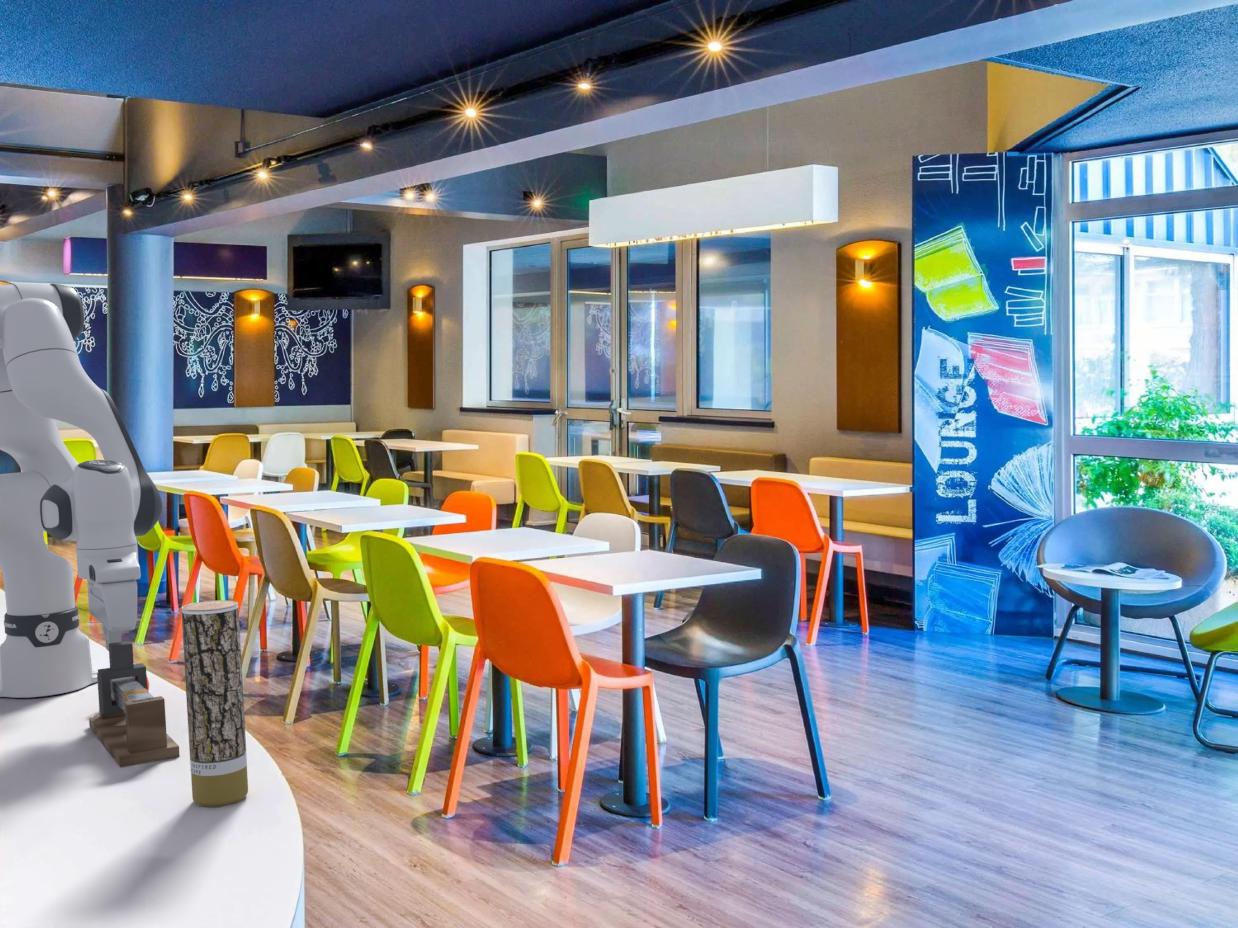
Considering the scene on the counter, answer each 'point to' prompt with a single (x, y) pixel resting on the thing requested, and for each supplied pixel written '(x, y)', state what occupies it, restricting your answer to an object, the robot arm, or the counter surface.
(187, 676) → the paper tube
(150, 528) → the robot arm
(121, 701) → the grey metal bar
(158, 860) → the counter surface
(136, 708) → the base
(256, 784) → the counter surface
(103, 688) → the grey clamp
